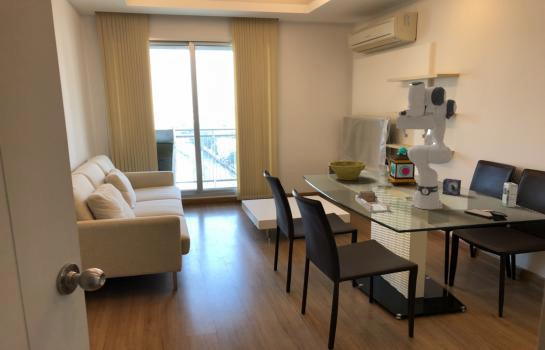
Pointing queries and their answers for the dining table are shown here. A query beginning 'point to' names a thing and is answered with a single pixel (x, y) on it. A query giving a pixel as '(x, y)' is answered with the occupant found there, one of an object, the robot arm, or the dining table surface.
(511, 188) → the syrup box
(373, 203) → the grey chute
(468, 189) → the dining table surface
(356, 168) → the planter bowl
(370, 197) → the walnut block
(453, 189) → the small box
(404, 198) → the dining table surface
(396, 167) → the decorative lantern
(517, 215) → the dining table surface
